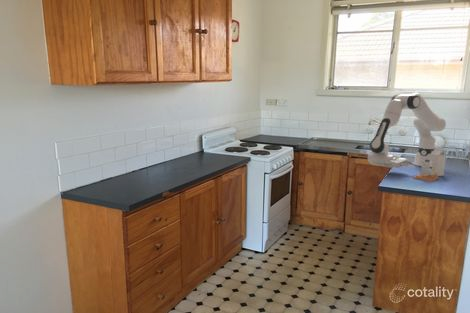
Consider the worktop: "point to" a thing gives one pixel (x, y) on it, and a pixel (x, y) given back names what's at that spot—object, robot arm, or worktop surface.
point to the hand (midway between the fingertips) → (410, 164)
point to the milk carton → (438, 162)
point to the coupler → (432, 178)
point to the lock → (426, 168)
